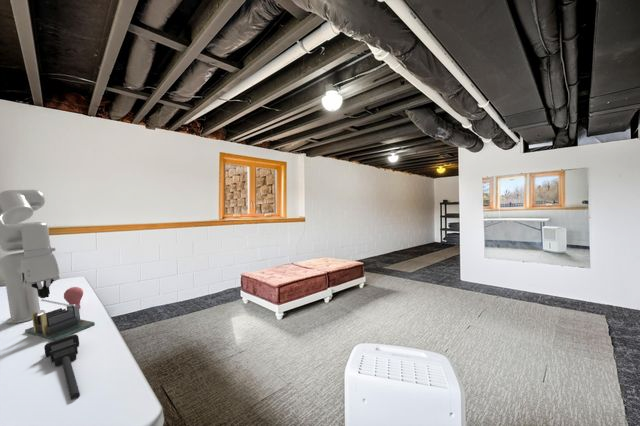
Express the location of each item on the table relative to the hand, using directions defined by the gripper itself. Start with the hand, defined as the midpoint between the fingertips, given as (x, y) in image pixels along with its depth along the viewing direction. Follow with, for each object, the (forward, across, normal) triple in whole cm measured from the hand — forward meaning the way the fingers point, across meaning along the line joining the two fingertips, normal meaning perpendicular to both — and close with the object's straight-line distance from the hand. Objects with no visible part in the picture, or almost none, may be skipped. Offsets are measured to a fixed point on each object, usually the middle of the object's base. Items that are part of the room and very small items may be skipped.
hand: (44, 297), depth 108 cm
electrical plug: (+16, +11, +40) cm, 44 cm away
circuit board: (+15, -4, 0) cm, 16 cm away
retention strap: (+5, -4, 0) cm, 6 cm away
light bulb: (+15, -17, -18) cm, 29 cm away
